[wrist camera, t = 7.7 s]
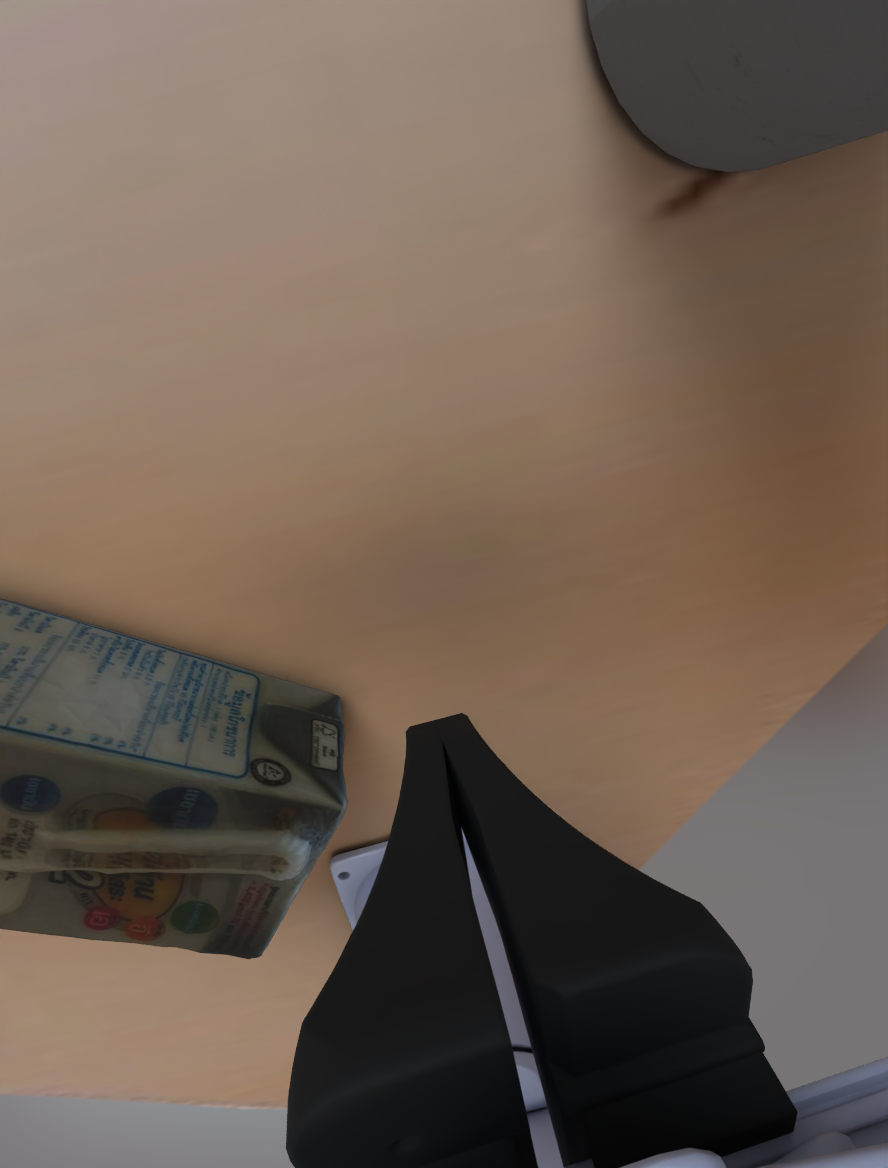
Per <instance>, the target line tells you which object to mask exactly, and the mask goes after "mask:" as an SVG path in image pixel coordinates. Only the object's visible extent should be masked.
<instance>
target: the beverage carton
mask: <svg viewBox="0 0 888 1168" xmlns="http://www.w3.org/2000/svg"><path fill="white" fill-rule="evenodd" d="M344 738H345V734H344V724H343V721H342V710H341V701H340V697H338V696H337V695H334V694H330V693H327V692H323V691H320V690H317V689H314V688H310V687H307V686H303V685H300V684H296V683H292V682H289V681H285V680H282V679H278V678H275V677H271V676H268V675H264V674H261V673H257V672H254V671H251V670H248V669H244V668H241V667H238V666H234V665H231V664H228V663H225V662H221V661H218V660H215V659H212V658H208V657H205V656H202V655H198V654H195V653H191V652H187V651H184V650H180V649H176V648H173V647H169V646H165V645H162V644H158V643H155V642H151V641H148V640H144V639H141V638H137V637H134V636H130V635H127V634H123V633H120V632H116V631H113V630H109V629H106V628H102V627H99V626H95V625H92V624H89V623H85V622H82V621H79V620H76V619H73V618H69V617H66V616H62V615H59V614H55V613H51V612H48V611H44V610H41V609H37V608H34V607H30V606H26V605H23V604H19V603H15V602H12V601H8V600H4V599H0V929H7V930H15V931H22V932H30V933H39V934H47V935H57V936H67V937H75V938H82V939H90V940H102V941H115V942H127V943H138V944H145V945H153V946H160V947H177V948H182V949H188V950H192V951H196V952H199V953H210V954H225V955H231V956H236V957H241V958H246V959H251V958H257V957H260V956H261V955H262V954H263V952H264V950H265V949H266V947H267V946H268V944H269V942H270V941H271V939H272V937H273V936H274V934H275V932H276V930H277V928H278V927H279V925H280V923H281V921H282V920H283V918H284V916H285V914H286V912H287V910H288V908H289V906H290V904H291V903H292V901H293V899H294V897H295V896H296V894H297V892H298V891H299V889H300V887H301V886H302V884H303V882H304V881H305V879H306V878H307V876H308V875H309V873H310V872H311V870H312V868H313V866H314V864H315V862H316V860H317V858H318V857H319V855H320V854H321V853H322V851H323V850H324V849H325V847H326V845H327V844H328V842H329V840H330V839H331V837H332V835H333V834H334V832H335V830H336V829H337V827H338V825H339V823H340V821H341V819H342V817H343V816H344V813H345V810H346V807H347V801H348V800H347V796H346V785H345V778H344V773H343V752H344Z"/></svg>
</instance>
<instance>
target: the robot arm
mask: <svg viewBox="0 0 888 1168" xmlns="http://www.w3.org/2000/svg"><path fill="white" fill-rule="evenodd" d="M330 872H331V874H332V877H333V880H334V882H335V885H336V888H337V890H338V893H339V896H340V898H341V901H342V904H343V906H344V909H345V911H346V914H347V917H348V919H349V922H350V925H351V927H352V930H353V932H352V934H351V936H350V938H349V940H348V942H347V944H346V946H345V948H344V950H343V952H342V954H341V956H340V958H339V960H338V962H337V964H336V966H335V968H334V969H333V971H332V973H331V975H330V977H329V978H328V980H327V982H326V983H325V985H324V987H323V989H322V990H321V992H320V994H319V995H318V997H317V999H316V1000H315V1002H314V1004H313V1006H312V1007H311V1009H310V1011H309V1012H308V1014H307V1016H306V1017H305V1019H304V1021H303V1023H302V1026H301V1030H300V1034H299V1039H298V1043H297V1047H296V1052H295V1057H294V1062H293V1067H292V1073H291V1081H290V1088H289V1096H288V1114H287V1137H286V1138H287V1139H286V1149H287V1153H288V1155H289V1159H290V1161H291V1163H292V1164H293V1166H294V1167H295V1168H888V1057H885V1058H883V1059H880V1060H877V1061H874V1062H871V1063H868V1064H865V1065H862V1066H859V1067H856V1068H853V1069H850V1070H847V1071H844V1072H841V1073H839V1074H836V1075H833V1076H830V1077H827V1078H824V1079H821V1080H818V1081H815V1082H812V1083H809V1084H807V1085H803V1086H801V1087H798V1088H795V1089H792V1090H789V1091H785V1090H784V1088H783V1086H782V1085H781V1083H780V1081H779V1079H778V1078H777V1076H776V1074H775V1072H774V1071H773V1069H772V1068H771V1066H770V1064H769V1062H768V1061H767V1059H766V1057H765V1056H764V1054H763V1052H764V1050H765V1046H764V1043H763V1040H762V1039H761V1037H760V1035H759V1034H758V1032H757V1030H756V1028H755V1027H754V1025H753V1023H752V1022H751V1020H750V1018H749V1017H748V1016H749V1008H750V1000H751V992H752V985H753V978H752V969H751V968H750V966H749V965H748V963H747V962H746V959H745V957H744V956H743V954H742V953H741V951H740V949H739V948H738V947H737V945H736V944H735V943H734V941H733V940H732V939H731V938H730V936H729V935H728V934H727V933H726V931H725V930H724V929H723V928H722V927H721V925H720V924H719V923H718V922H717V920H716V919H715V918H714V917H713V916H712V915H711V914H710V913H709V912H708V910H707V909H706V908H705V907H704V906H703V905H702V904H701V903H700V902H698V901H696V900H694V899H691V898H690V897H688V896H685V895H684V894H681V893H679V892H677V891H675V890H673V889H671V888H670V887H668V886H666V885H664V884H662V883H660V882H658V881H656V880H654V879H653V878H651V877H649V876H647V875H646V874H644V873H642V872H641V871H639V870H637V869H635V868H634V867H632V866H630V865H628V864H627V863H625V862H624V861H622V860H621V859H619V858H618V857H616V856H614V855H613V854H611V853H610V852H608V851H607V850H605V849H604V848H602V847H601V846H599V845H598V844H596V843H595V842H593V841H592V840H590V839H589V838H587V837H586V836H585V835H583V834H582V833H581V832H579V831H578V830H577V829H575V828H574V827H573V826H571V825H570V824H569V823H567V822H566V821H565V820H564V819H562V818H561V817H560V816H559V815H557V814H556V813H555V812H554V811H552V810H551V809H550V808H549V807H548V806H547V805H545V804H544V803H543V802H542V801H541V800H540V799H539V798H538V797H537V796H535V795H534V794H533V793H532V792H531V791H530V790H529V789H528V788H527V787H526V786H525V785H524V784H523V783H522V782H521V781H520V780H519V779H518V778H517V777H516V776H515V775H514V774H513V773H512V772H511V771H510V770H509V769H508V768H507V767H506V765H505V764H504V763H503V762H502V761H501V760H500V759H499V758H498V757H497V756H496V754H495V753H494V752H493V751H492V750H491V749H490V747H489V746H488V745H487V744H486V742H485V741H484V740H483V739H482V737H481V736H480V735H479V733H478V732H477V730H476V729H475V728H474V726H473V724H472V723H471V721H470V720H469V718H468V716H467V715H465V714H463V713H460V714H456V715H453V716H449V717H445V718H441V719H437V720H433V721H430V722H426V723H422V724H418V725H414V726H410V727H409V728H408V730H407V731H406V759H405V767H404V775H403V780H402V786H401V791H400V797H399V802H398V806H397V810H396V814H395V818H394V822H393V826H392V829H391V833H390V837H389V840H388V841H386V842H382V843H379V844H375V845H371V846H368V847H364V848H360V849H357V850H353V851H349V852H346V853H342V854H338V855H336V856H334V857H333V858H332V859H331V860H330Z"/></svg>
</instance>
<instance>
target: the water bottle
mask: <svg viewBox="0 0 888 1168" xmlns="http://www.w3.org/2000/svg"><path fill="white" fill-rule="evenodd" d="M586 2H587V9H588V17H589V24H590V28H591V31H592V34H593V38H594V41H595V45H596V48H597V52H598V55H599V58H600V62H601V65H602V68H603V70H604V72H605V74H606V76H607V78H608V80H609V82H610V85H611V87H612V89H613V91H614V93H615V95H616V97H617V99H618V101H619V103H620V104H621V106H622V107H623V108H624V110H625V111H626V112H627V114H628V115H629V116H630V118H631V119H632V120H633V122H634V123H635V124H636V126H637V127H638V128H639V129H640V131H641V132H642V133H643V134H644V135H645V136H647V137H648V138H649V139H650V140H651V141H653V142H654V143H655V144H656V145H657V146H659V147H660V148H661V149H662V150H663V151H665V152H666V153H667V154H669V155H671V156H674V157H676V158H678V159H680V160H682V161H684V162H686V163H688V164H690V165H693V166H695V167H701V168H707V169H712V170H718V171H724V172H737V171H748V170H759V169H763V168H766V167H770V166H773V165H776V164H780V163H783V162H786V161H789V160H793V159H796V158H799V157H803V156H806V155H809V154H812V153H816V152H819V151H822V150H826V149H829V148H832V147H835V146H839V145H842V144H845V143H849V142H852V141H855V140H858V139H862V138H865V137H868V136H872V135H875V134H878V133H881V132H885V131H888V0H586Z"/></svg>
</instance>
